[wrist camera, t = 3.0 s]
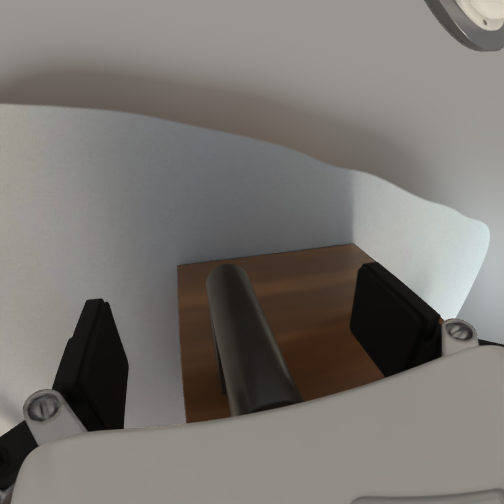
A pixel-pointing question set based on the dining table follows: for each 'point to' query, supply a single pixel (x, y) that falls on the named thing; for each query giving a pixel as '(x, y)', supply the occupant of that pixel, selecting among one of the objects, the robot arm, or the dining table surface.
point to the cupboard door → (269, 331)
